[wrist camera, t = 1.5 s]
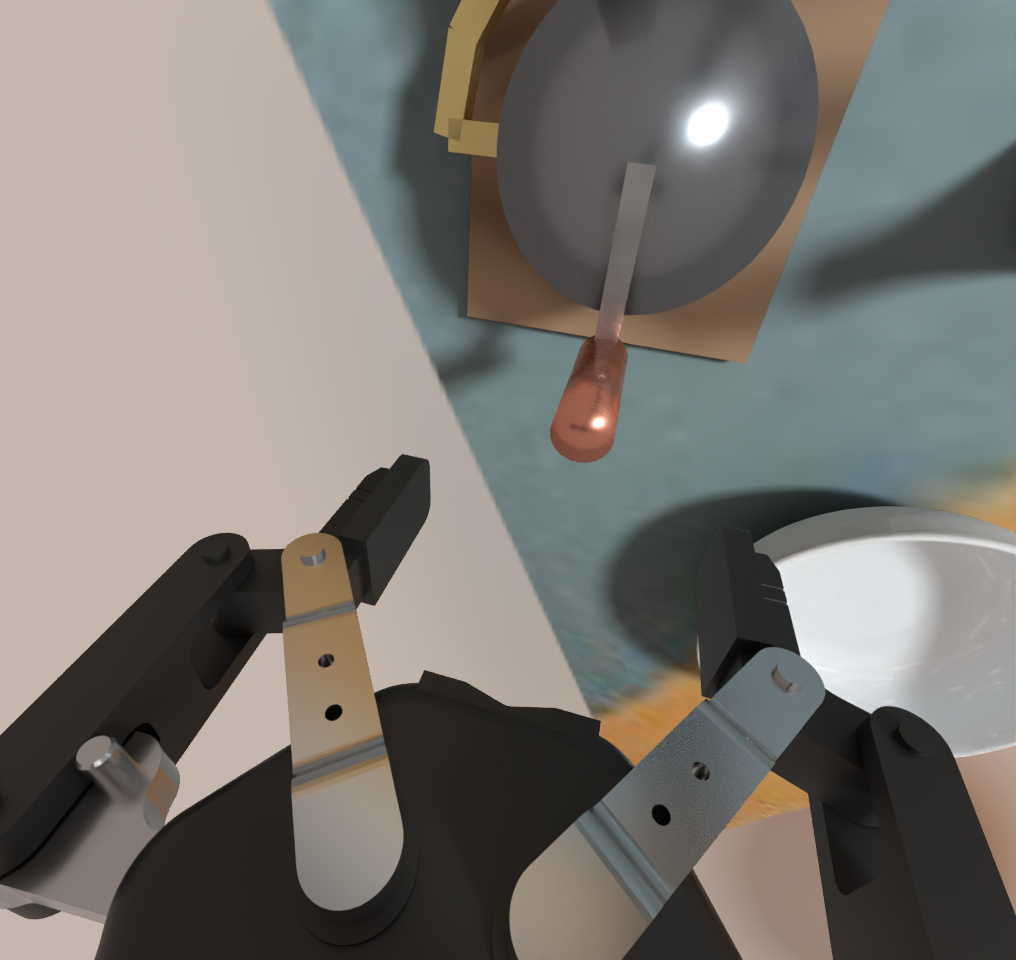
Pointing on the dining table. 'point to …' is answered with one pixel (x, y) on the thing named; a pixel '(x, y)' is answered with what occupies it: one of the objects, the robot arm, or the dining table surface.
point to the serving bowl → (908, 615)
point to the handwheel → (637, 159)
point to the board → (719, 315)
